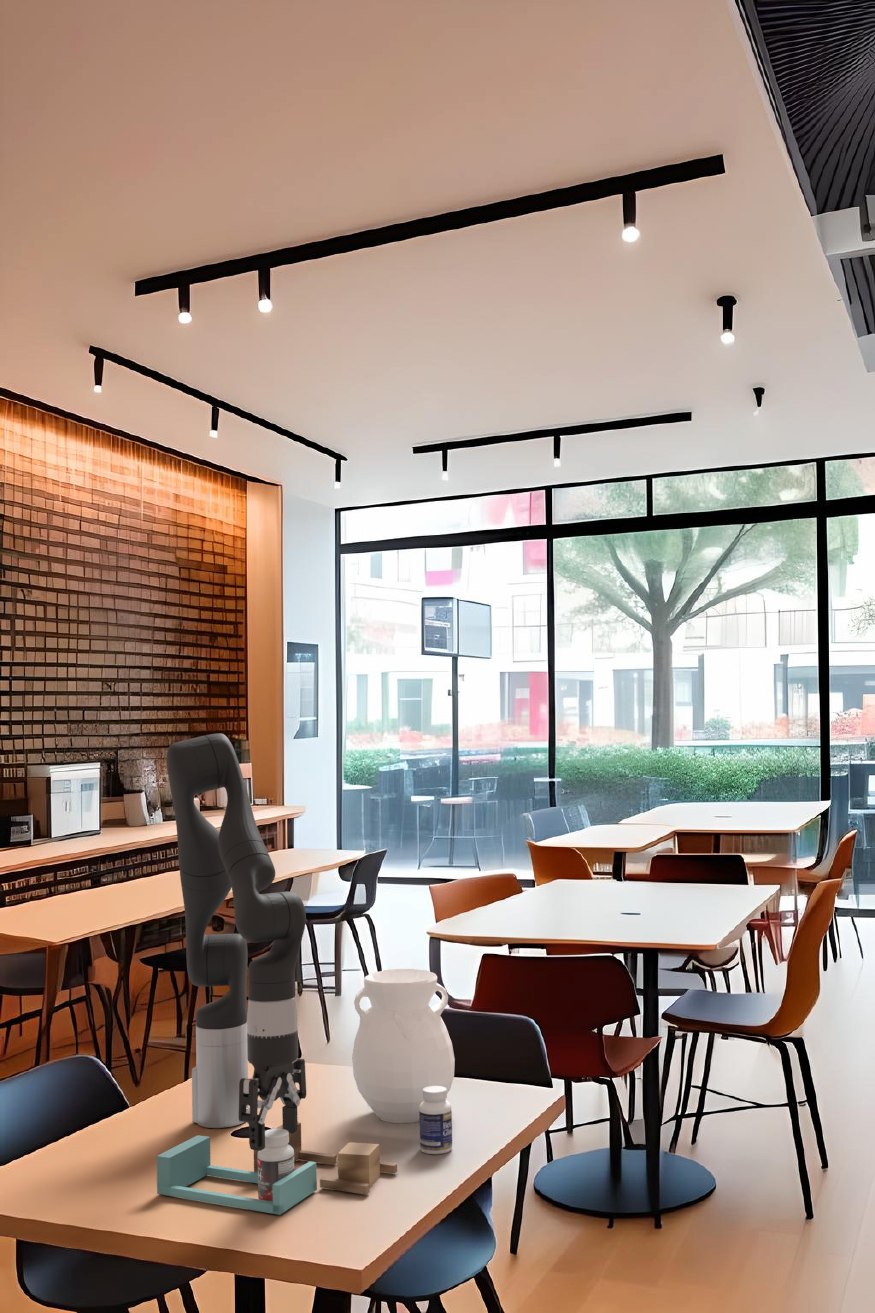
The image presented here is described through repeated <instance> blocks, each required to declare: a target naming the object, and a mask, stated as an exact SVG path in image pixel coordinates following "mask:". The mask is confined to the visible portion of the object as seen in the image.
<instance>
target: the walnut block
mask: <svg viewBox="0 0 875 1313" xmlns="http://www.w3.org/2000/svg"><path fill="white" fill-rule="evenodd" d="M380 1157H381V1156H380V1144H379V1143H365V1142H348V1143H346V1144H345V1146H343V1147H342V1148H341V1149H340V1150H339V1151H338V1153H337V1173H338V1174H337V1175H338V1177H337V1179H340V1180H347V1181H353V1182H360V1183H366V1184H369V1188H370V1189H371V1188H372V1187H373V1186H374V1185H375V1183H376V1182H377V1181H378V1180H379V1179H380V1177H381V1172H380V1161H381V1159H380Z"/></svg>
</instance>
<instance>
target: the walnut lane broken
mask: <svg viewBox="0 0 875 1313" xmlns="http://www.w3.org/2000/svg"><path fill="white" fill-rule="evenodd" d="M274 1129H283V1124H280V1125H279V1126H277V1127H275V1128H274ZM287 1144H288V1145H290V1146H291V1147H292V1148H293V1150H294V1163H296V1162H297V1161H304V1162H309V1161H311V1162H316V1164H317V1163H318V1164H325V1165H330V1166H331V1165H332V1166H334V1165H336V1164H338V1154H332V1153H325V1152H324V1153H323V1152H317V1151H313V1150H312V1151H310V1150H304V1149H302V1122H298V1124H297V1131H296V1132H295V1133H289V1143H287ZM257 1156H258V1150H253V1172H258V1158H257ZM380 1173H385V1174H386V1173H387V1174H396V1173H398V1163H395V1162H388V1161H382V1160H380ZM319 1188H322V1189H328V1190H334V1191H339V1192H340V1191H341V1192H347V1193H353V1194H359V1195H368V1194H369V1193H370V1189H371V1188H369V1184H366V1183H360V1182H353V1181H347V1180H340V1179H338V1178H333V1177H326V1176H322V1177H321V1178H320V1179H319Z"/></svg>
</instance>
